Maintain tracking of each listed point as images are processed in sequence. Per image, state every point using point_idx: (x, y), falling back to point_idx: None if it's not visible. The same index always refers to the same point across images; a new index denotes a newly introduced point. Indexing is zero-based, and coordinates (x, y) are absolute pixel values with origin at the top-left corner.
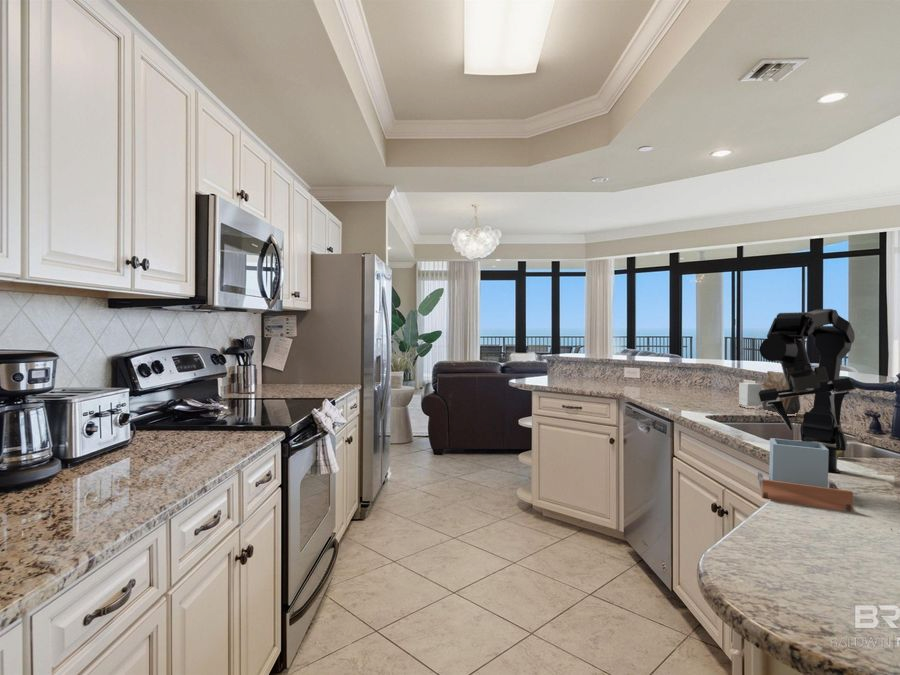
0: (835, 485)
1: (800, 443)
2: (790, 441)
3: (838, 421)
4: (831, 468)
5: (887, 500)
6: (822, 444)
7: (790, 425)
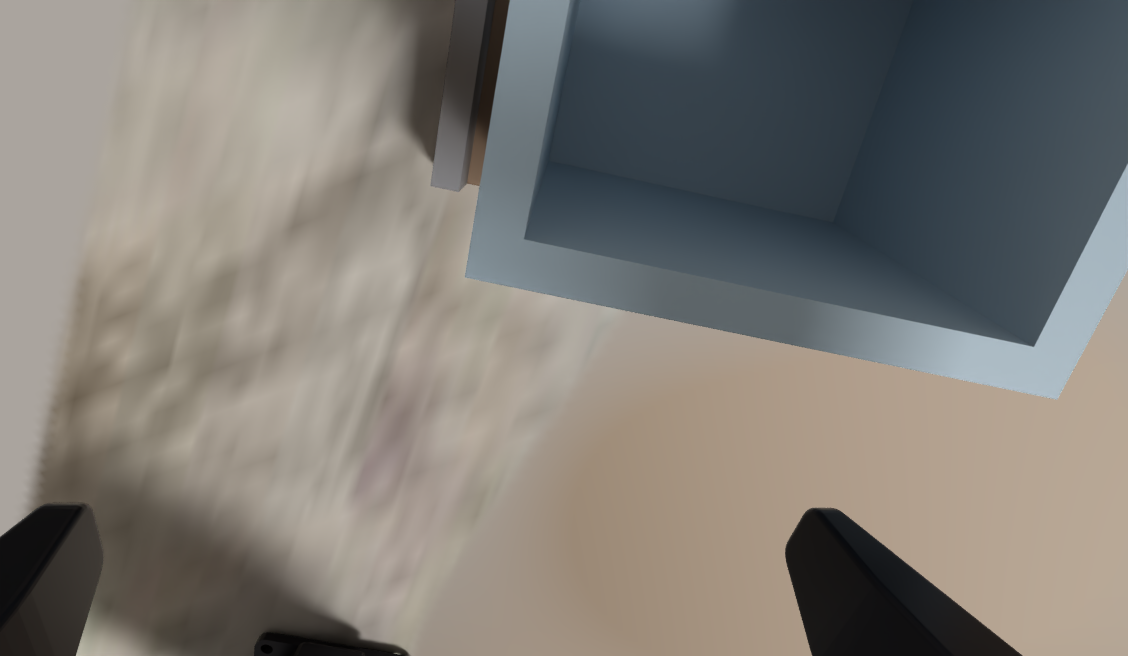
0: (449, 69)
1: (725, 275)
2: (843, 302)
3: (14, 544)
4: (298, 654)
5: (139, 110)
6: (491, 173)
7: (865, 555)
